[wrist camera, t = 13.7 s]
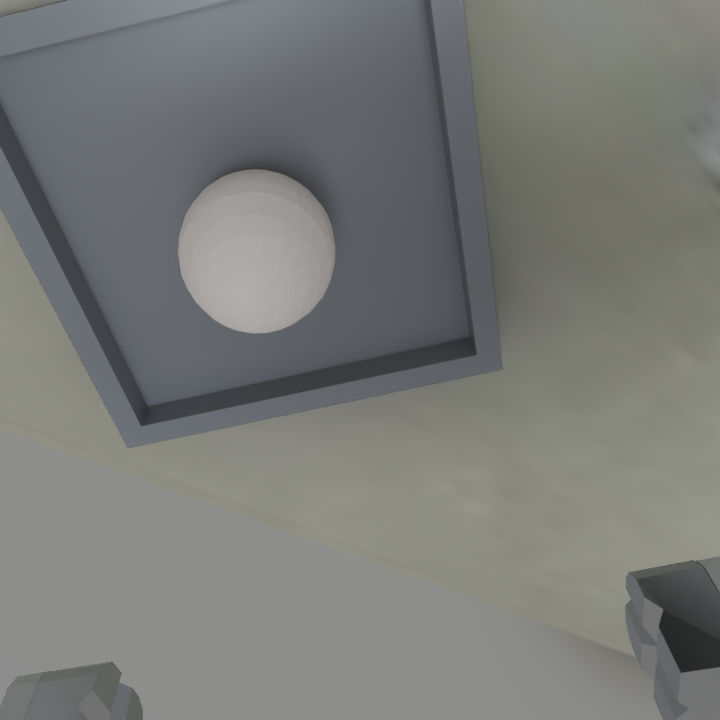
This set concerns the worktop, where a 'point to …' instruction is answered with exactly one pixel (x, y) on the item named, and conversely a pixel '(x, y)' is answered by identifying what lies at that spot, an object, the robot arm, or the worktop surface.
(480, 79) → the worktop surface
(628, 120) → the worktop surface
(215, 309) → the egg
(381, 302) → the tray
